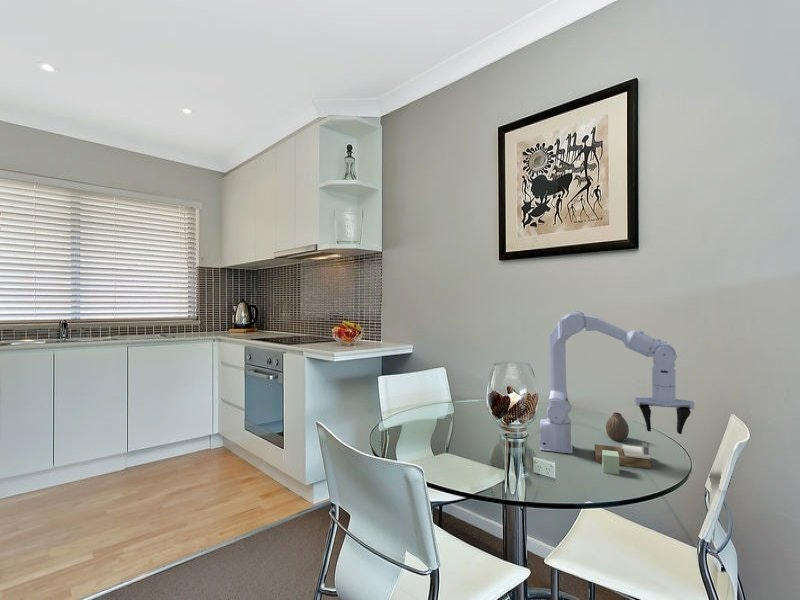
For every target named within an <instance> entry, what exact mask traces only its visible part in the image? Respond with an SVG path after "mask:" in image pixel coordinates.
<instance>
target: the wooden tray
mask: <svg viewBox="0 0 800 600" xmlns="http://www.w3.org/2000/svg"><path fill="white" fill-rule="evenodd" d="M602 450H608V451H618V454H619V466H623V467H624V466H627V467H634V468H642V469H649V470H651V466H652V465H651V458H650V459H644V458H635V457H626V456H625V455H624V452H623V448H622V446H616V445H615V446H614V445H606V444H604V445H603V444H597V443H596V444H594V455H595V463H601V464H602Z"/></svg>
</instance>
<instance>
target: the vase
mask: <svg viewBox="0 0 800 600" xmlns="http://www.w3.org/2000/svg"><path fill="white" fill-rule="evenodd" d="M629 428H630V427H629V424H628V422H627V420H626V419H625V418H624V416H623V415H622V413H621V412H617V411H615V412H613V413H612V415H611V416H610V417H609V418H608V419H607V420H606V424H605V432H606V434H607V436H608V437H609V438H610V439H611V440H612V441H615V442H623V441H625V440H626V439H627V438H628V437H629V433H630V432H629V431H630V429H629Z"/></svg>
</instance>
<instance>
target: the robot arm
mask: <svg viewBox="0 0 800 600" xmlns="http://www.w3.org/2000/svg"><path fill="white" fill-rule="evenodd" d="M584 329H585V332H592V331H593V332H594V331H597V332H600V333H602V334H605V335H607V336H609V337H612V338H614V339H617V340H619V341H621V342H623V345H624V346H625V348H626V349H629V350H631V351H633V352H635V353H638V354H640V355H642V356H644V357H646V358H652V361H653V363H652V364H653V367H652V368H651V371H652V373H651V374H652V375H651V378H652V379H651V380H652V382H651V383H652V384H651V387H652V391H651V392H652V397H634V405H635V406H638V407H639V409H640V411H641V413H642V416H643V418H644V421H645V425H646V431H647V432H651V430H652V424H651V416H652V409H651V407H662V408H675V409H676V420H677V421H676V432H677V433H678V434H679V435H682V433H683V429H684V426H685V423H687V419H688V418H689V417H690V415H691V413H692V411H691V410H695V402H694V401H693V400H685V399H679V398H677V399H676V386H677V385H676V384H677V383H676V369H675V367H676V360H677V358H678V355H677V353H676V350H675V348H674V346H672V344H671V343H668V342H667V341H662V339H661V338H659V337H658V338H655V337H653V336H650V335H648V334H645V331H644V330H641V329H639V330H636V329H633V330H630V331H627V330H625V329H623V328H620V327H619V326H616V325H614V324H612V323H610V322H608V321H606V320H603V319H601V318H599V317H596V316H594V315H591V314H587V313H584V312H581V311H579V310H574V311H571V312H569V313H567V314H566V315H564V316H563V317H561V318H560V319H559V320H558V322H557V324H555V327H554V328H553V329H552V331H551V333H550V334H549V336H548V338H549V341H548V342H549V383H550V384H549V386H550V388H549V389H550V393H549V397H548V406H547V407H546V411H545V415H546V418H544V419H543V418H541V419H540V420H539V421H540V422H539V423H540V424H539V425H540V426H539V443H540V444H539V450H541V451H546V452H554V453H563V454H573V443H572V420H571V418H570V416H569V415H568V414H569V413H570V412H571V410H572V409H571V408H572V406H571V403H570V401H569V397H568V392H567V364H566V363H567V362H566V361H567V360H566V358H567V355H566V347H567V346H566V341H568V339H569V338H570V337H572V336H574V335H576V334H578V333H580V332H582V330H584Z"/></svg>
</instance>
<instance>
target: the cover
mask: <svg viewBox="0 0 800 600" xmlns="http://www.w3.org/2000/svg"><path fill="white" fill-rule="evenodd" d="M621 447H622V448H623V452H624V455H625V456H626V457H635V458H644V459H650V460H651V456H650V454H649V448H650V447H649V446H648V444H647V443H646V442H645V443H644V442H642V443H641V446H633V445H624V444H622V445H621Z"/></svg>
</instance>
